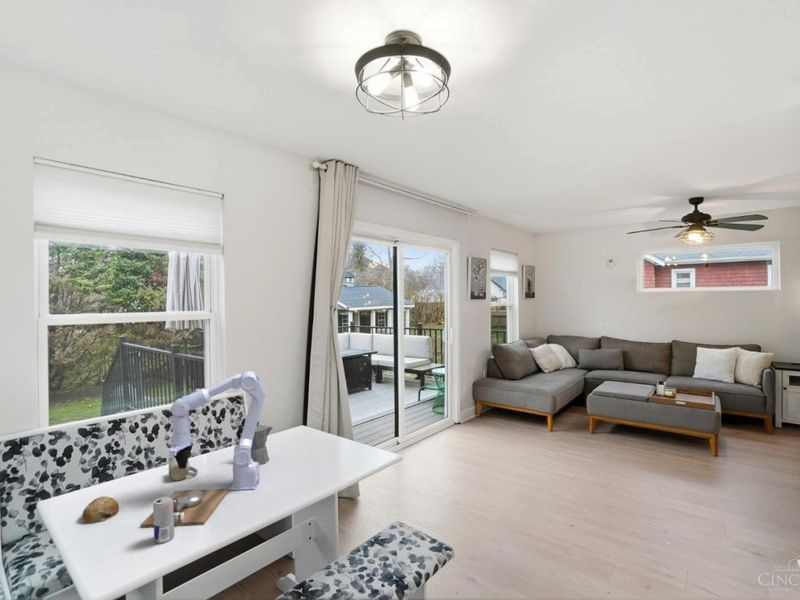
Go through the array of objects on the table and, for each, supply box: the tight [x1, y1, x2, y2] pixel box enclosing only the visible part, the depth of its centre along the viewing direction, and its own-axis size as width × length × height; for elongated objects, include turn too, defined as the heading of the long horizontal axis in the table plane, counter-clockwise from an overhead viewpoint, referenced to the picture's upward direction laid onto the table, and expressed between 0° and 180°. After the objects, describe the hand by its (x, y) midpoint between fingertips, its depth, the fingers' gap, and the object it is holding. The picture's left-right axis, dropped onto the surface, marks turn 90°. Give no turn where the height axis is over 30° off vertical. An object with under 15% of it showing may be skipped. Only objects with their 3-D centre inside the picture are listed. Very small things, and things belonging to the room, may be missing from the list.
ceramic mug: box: [168, 457, 198, 482], centre depth 172 cm, size 11×8×8 cm
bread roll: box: [81, 496, 120, 524], centre depth 142 cm, size 10×10×8 cm
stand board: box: [140, 487, 230, 529], centre depth 146 cm, size 20×23×4 cm
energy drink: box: [152, 495, 175, 544], centre depth 128 cm, size 5×5×12 cm
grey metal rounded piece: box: [173, 491, 203, 513], centre depth 145 cm, size 14×8×5 cm, turn 171°
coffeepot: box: [235, 421, 273, 466], centre depth 185 cm, size 15×9×18 cm, turn 103°
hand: (182, 467), depth 155 cm, fingers closed
